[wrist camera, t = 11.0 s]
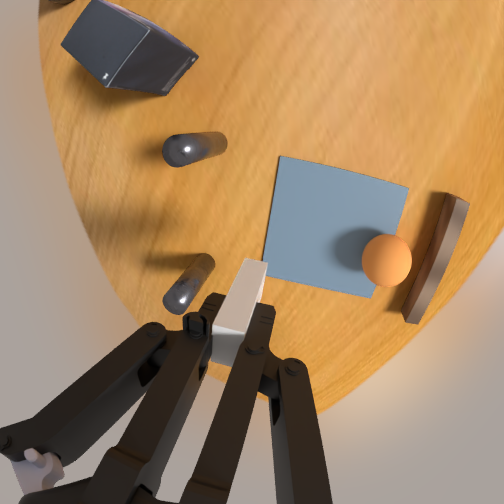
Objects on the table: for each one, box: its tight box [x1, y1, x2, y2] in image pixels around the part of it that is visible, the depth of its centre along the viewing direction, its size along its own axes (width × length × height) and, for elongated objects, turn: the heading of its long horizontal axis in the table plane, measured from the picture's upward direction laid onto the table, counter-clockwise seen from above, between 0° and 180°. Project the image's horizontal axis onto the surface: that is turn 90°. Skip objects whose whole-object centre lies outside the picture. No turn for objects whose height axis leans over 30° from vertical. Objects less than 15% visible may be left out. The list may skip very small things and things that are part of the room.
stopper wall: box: [401, 193, 470, 324], centre depth 26 cm, size 16×2×2 cm, turn 172°
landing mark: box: [263, 156, 409, 298], centre depth 29 cm, size 14×14×1 cm
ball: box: [362, 234, 412, 287], centre depth 26 cm, size 6×6×6 cm
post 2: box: [163, 253, 215, 315], centre depth 30 cm, size 3×3×9 cm
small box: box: [61, 0, 199, 96], centre depth 19 cm, size 11×6×10 cm, turn 46°
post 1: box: [162, 132, 228, 167], centre depth 23 cm, size 3×3×9 cm
